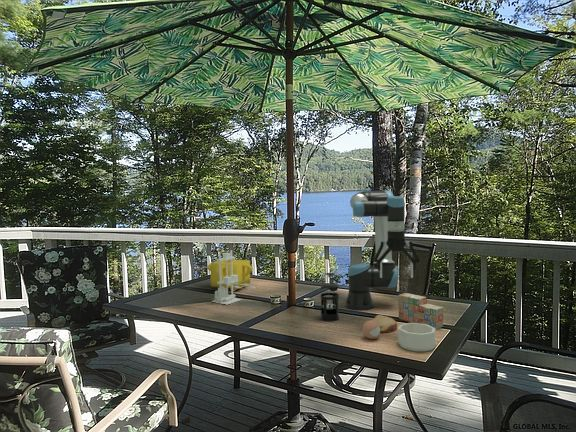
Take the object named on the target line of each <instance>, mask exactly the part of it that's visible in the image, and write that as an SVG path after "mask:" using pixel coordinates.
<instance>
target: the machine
mask: <svg viewBox="0 0 576 432" xmlns="http://www.w3.org/2000/svg"><path fill="white" fill-rule="evenodd" d="M221 254H222V257H221ZM233 258H234V259H235V256H233V250H232V249H230V250H229V252H222V253H221V251H220V252H219V251H218V258H216V259H215V260H216V261H219V282H217V284H220V288H218V287H217V289H218V290H215V291H214V300H211V303H212V302H216V303H221V304H226V305H228V304H231V303H234V302H237V301H240V300H242V301H243V298H237V297H236V296H237V295H236V294H235V293H234V292H233V284H238V283H235V282H238V275H233V266H232V259H233ZM227 260H231V275H230V277H228V270H227ZM216 261H215V262H216ZM221 261H226V275H227V276H226V277H223V279H224V280H223V281H221ZM221 284H227V288H225V287H223V286H221ZM230 284H231V285H230ZM240 285H244V287H247V286H248V290H249V289H250V290H255V289H256V286H251V285H249V284H240ZM228 286H231V291H230V292H231V294H229V288H228ZM234 287H236V288H237V289H238V290H239V289H243V288H242V287H239V286H234ZM237 289H236V290H237ZM240 302H241V301H240ZM237 303H238V302H237ZM221 304H220V305H221ZM234 304H235V303H234ZM226 305H225V306H226ZM231 305H232V304H231ZM228 306H229V305H228Z"/></svg>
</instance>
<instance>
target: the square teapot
mask: <svg viewBox="0 0 576 432" xmlns="http://www.w3.org/2000/svg"><path fill="white" fill-rule="evenodd" d="M250 262H251V260H249V259H248V260H247V259H235V258H233V259H232V266H233V275H238V282H235V283H238V284H233V290H235V289H236V290H237V288H236V287H234V286H239V287H242V286H244V285H240V284H248V285H249V284H251V273H252V271H253V266H252V265H251V263H250ZM206 269H207V270H208V271H209V272H210V273H209V275H210V287H215V288H217V289H218V288H220V284H217V282H219V261H212V262H210V263H209V264H208V265H207V266H206ZM227 270H228V277H230V275H231V260H227ZM226 276H227V275H226V261H221V281H223V280H224V279H223V277H226ZM230 285H231V284H230ZM221 286H223V287H225V288H227V284H221ZM244 287H245V286H244ZM228 289H230V290H231V286H228Z"/></svg>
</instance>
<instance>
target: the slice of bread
mask: <svg viewBox="0 0 576 432" xmlns="http://www.w3.org/2000/svg"><path fill="white" fill-rule="evenodd" d="M372 320H374V321H376V322H378V323H379V327H380V334H389V333H392V332H394V331H396V330H398V321H396V320H395V319H393V318H392V317H389V316H387V315H381V314H377V315H376V316H375V317H374V318H373V319H372Z"/></svg>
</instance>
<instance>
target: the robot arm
mask: <svg viewBox="0 0 576 432" xmlns="http://www.w3.org/2000/svg"><path fill="white" fill-rule="evenodd" d="M349 203H350V204H349V205H350V207H351V208H352V215H353V217H356V218H357V217H358V218H362V217H363V218H364V217H368V218H370V217H371V218H374V235H375V236H374V239H375V240H374V241H375V242H374V243H375V255H374V257H373V259H372V261H373V265H372V266H371V264H370V263H367V262H365V263H364V262H363V263H357V264H352V265H350V266H349V268H348V274H347V276H348V293H347V297H346V300H345V307H346V308H348V309H349V310H357V311H366V310H371V309H373V308H374V300H373V297H372V294H371V289H372V288H374V289H375V288H376V289H378V288H381V289H382V288H383V289H389V288H395V287H397V284H398V280H399V266H397V265H396V262H395V261H394V260H393V257H392V254H393V253H392V252H401V251H402V252H403V253H404V254H405V255H406V257H408V259H409V260H410V261H411V262H409V266H410V268H409V269H410V278H411V279H413V278H414V271H416V263H418V262H420V261H421V260H420V258H419V256H418V254H417V252H416V250H415V249H414V246H413V241H411V240H409V241H406V239H405V238H406V237H405V236H406V235H405V233H406V232H405V226H406V225H405V205H406V203H405V197H404V196H401V195H399V196H394V194H393V191H391V190H385V189H384V190H363V191H360V192H357V193H355V194H354V195H353V196H352V197H351V198H350V202H349ZM405 246H407V247H409V249H410V251H411V253H412V255H413V257H414V258H413V257H412V256H411V255H410V253H409V252H408V251H407V250H406V249H405Z"/></svg>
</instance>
